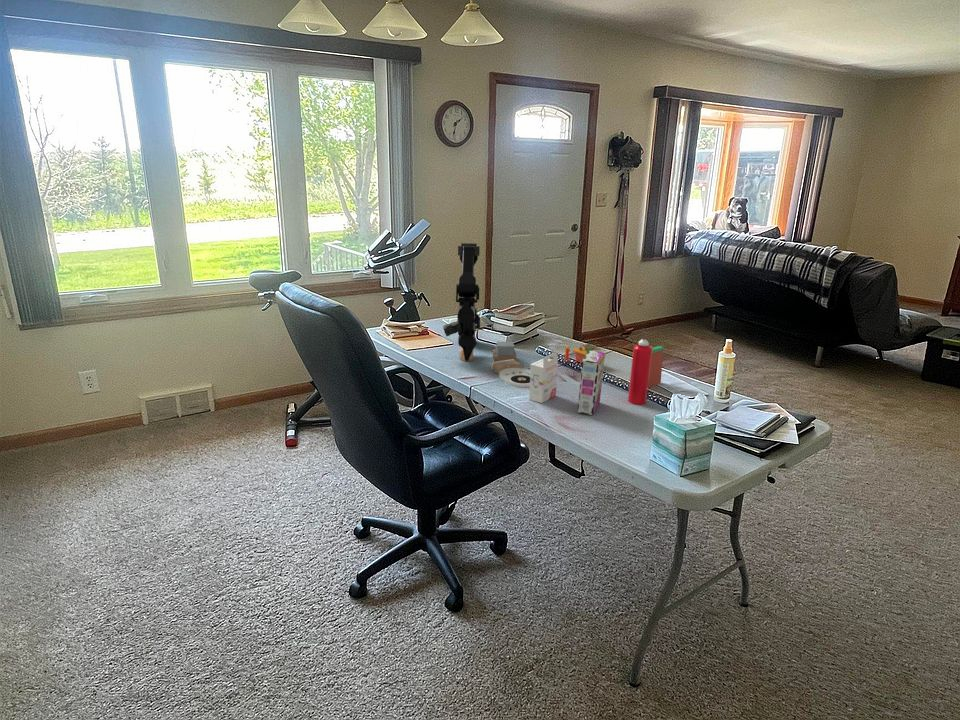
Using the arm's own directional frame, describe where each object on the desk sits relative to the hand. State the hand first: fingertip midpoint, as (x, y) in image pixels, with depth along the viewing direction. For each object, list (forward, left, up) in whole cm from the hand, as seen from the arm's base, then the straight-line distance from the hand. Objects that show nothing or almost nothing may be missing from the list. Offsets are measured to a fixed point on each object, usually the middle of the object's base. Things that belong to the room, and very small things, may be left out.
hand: (466, 356), depth 213 cm
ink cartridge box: (+37, +23, -1) cm, 44 cm away
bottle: (+40, +52, -1) cm, 66 cm away
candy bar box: (+45, +36, -1) cm, 58 cm away
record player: (+19, +17, -2) cm, 25 cm away
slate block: (+2, +14, +2) cm, 15 cm away
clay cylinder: (0, 0, -1) cm, 1 cm away
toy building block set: (+14, +50, -2) cm, 51 cm away
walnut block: (+2, +14, -1) cm, 14 cm away
